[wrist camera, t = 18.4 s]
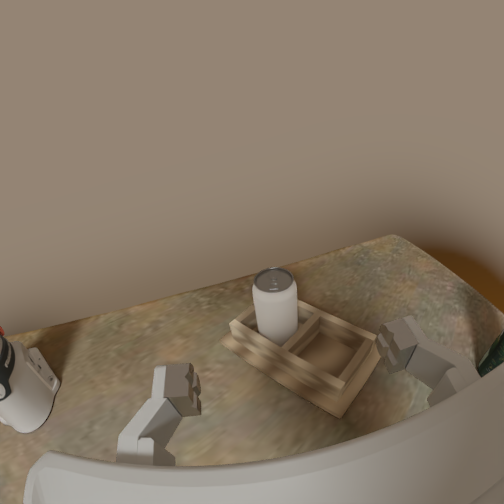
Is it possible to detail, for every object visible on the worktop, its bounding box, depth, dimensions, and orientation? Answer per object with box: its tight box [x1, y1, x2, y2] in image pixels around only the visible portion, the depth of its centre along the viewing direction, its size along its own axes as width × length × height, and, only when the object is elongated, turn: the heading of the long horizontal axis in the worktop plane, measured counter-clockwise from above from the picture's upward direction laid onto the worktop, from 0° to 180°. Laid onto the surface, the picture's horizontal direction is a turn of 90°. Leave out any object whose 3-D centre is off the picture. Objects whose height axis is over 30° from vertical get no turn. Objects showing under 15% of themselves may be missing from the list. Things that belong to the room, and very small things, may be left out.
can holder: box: [220, 299, 381, 419], centre depth 42 cm, size 24×14×5 cm, turn 47°
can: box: [252, 267, 298, 347], centre depth 42 cm, size 6×6×12 cm
